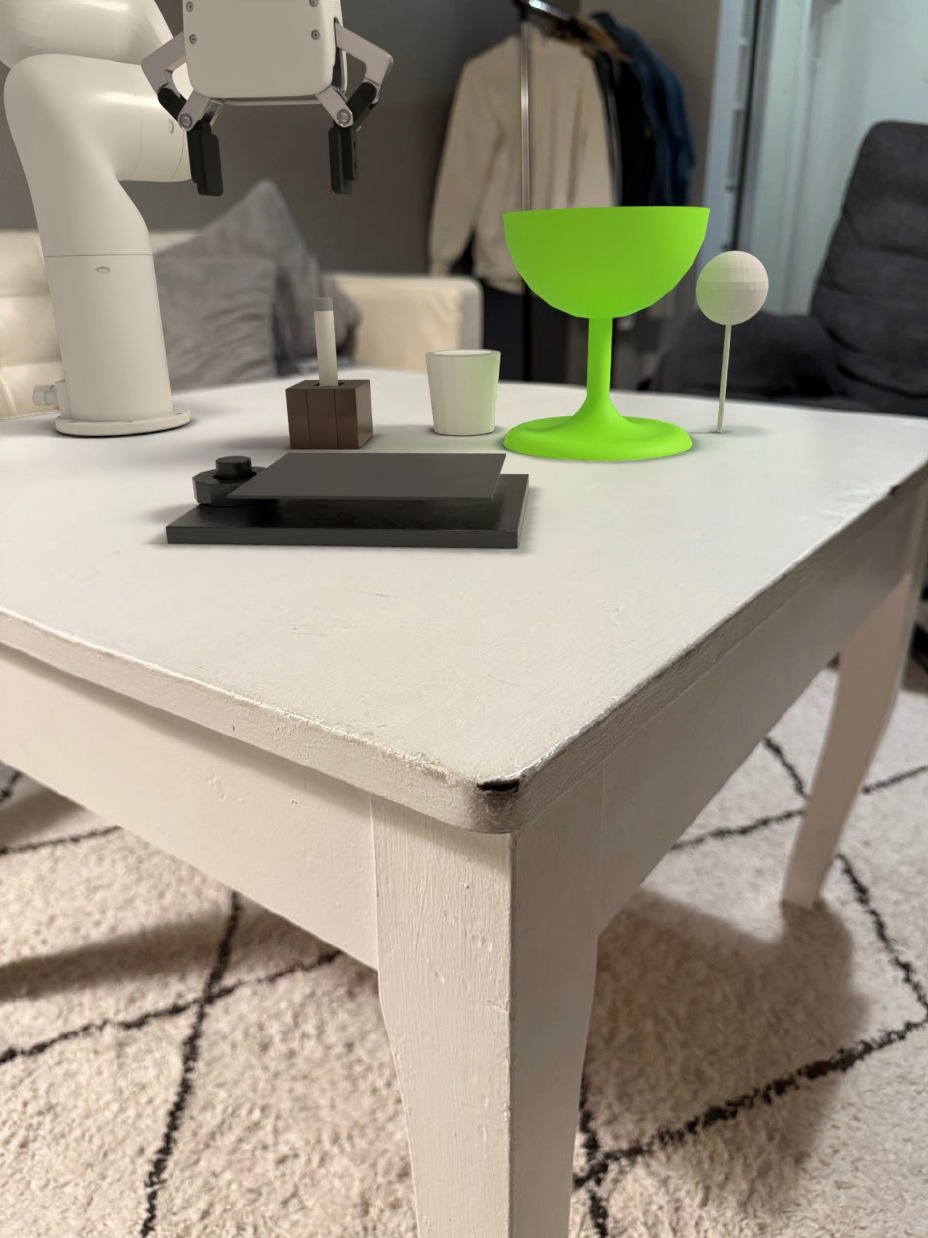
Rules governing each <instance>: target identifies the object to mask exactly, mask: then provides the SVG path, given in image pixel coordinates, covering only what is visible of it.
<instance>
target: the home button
mask: <svg viewBox="0 0 928 1238" xmlns="http://www.w3.org/2000/svg"><path fill="white" fill-rule="evenodd" d="M214 464H215V469H216V473H217V479H218V480H237V479H245V478H249V477H253V472H252V466H253V465H252V458H251V457H250V456H248V455H247V456H246V455H227V456H223V457H218V458H216V459H215V461H214Z"/></svg>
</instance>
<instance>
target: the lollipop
mask: <svg viewBox="0 0 928 1238" xmlns="http://www.w3.org/2000/svg"><path fill="white" fill-rule="evenodd" d="M695 286H696V287H695V297H696V301H697V304H698V307H699V310H700V311H701V312H702V313H703V315H704V316H706V318H707V319H709V320H710V321H712V322H714V323H716V324H719V325H723V326H724V325H725V331H724V340H723V341H724V343H723V353H722V365H721V367H722V368H721V378H720V391H719V402H718V411H717V413H718V414H717V425H716V433H723V427H724V414H725V405H726V404H725V403H726V391H727V382H728V381H727V380H728V369H729V358H730V347H731V346H730V345H731V333H732V326H734V325H735V326H736V325H738V324H742V323H744V322H746V321H748V320H750V319H751V318H752V317H754V316H755V315H756V314H757V313H758V311H760V310H761V308H763V307H762V306H763V305H764V303H765V302H766V299H767V297H768V292H769V277H768V272H767V271H766V268H765V266H764V264H763V263H762V262H761V261H760V260H759V259H758V258H757V257H755V255H753V254H751V253H748V252H745V251H743V250H729V251H725V252H722V253H719V254H718V255H716V256H714V257H713V258H712V259H711V260H709V261H708V262H707V263H706V264H705V265H704V267H703V268H702V269H701V272H700V274H699V276H698V278H697V281H696V285H695Z"/></svg>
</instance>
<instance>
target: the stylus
mask: <svg viewBox="0 0 928 1238" xmlns="http://www.w3.org/2000/svg"><path fill="white" fill-rule="evenodd" d="M333 303H334V300H333V297H313V298H312V305H313V311H314V312H313V316H314V329H315V343H316V356H317V357H316V358H317V369H318V380H319V385H320V386H338V380H339V375H338V359H337V346H336V345H337V344H336V331H335V316H334V304H333Z"/></svg>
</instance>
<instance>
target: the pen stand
mask: <svg viewBox="0 0 928 1238" xmlns="http://www.w3.org/2000/svg"><path fill="white" fill-rule="evenodd" d="M284 391H285V402H286V414H287V423H288V424H287V426H288V436H289V437H288V438H289V447H290V449H321V450H323V449H329V450H330V449H332V450H334V449H335V450H337V449H353V450H355V449H356V450H357V449H360V448H362V446H363V445H364V444H365V443H367V442H368V441H369V440H370V439H371V438H372V437H373V436H374V427H373V425H374V424H373V409H372V391H371V379H338V386H320V385H319V379H303V380H301V381H300V382H298V383H295V384H293V385H291V386H289V387H286V388H285V389H284Z"/></svg>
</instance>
